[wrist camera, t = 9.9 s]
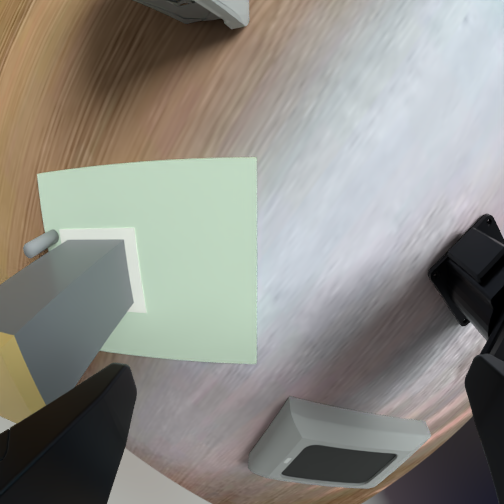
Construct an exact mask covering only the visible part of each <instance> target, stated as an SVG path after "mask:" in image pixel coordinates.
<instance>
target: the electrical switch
mask: <svg viewBox="0 0 504 504" xmlns="http://www.w3.org/2000/svg"><path fill="white" fill-rule="evenodd" d="M133 1H136V2H138V3H141V4H143V5H145V6H148V7H150V8H152V9H155V10H157V11H159V12H161V13H164V14H166V15H168V16H170V17H172V18H174V19H177V20H179V21H181V22H183V23H185V24H188V23H193V22H197V21H207V20H216V19H221V18H222V19H223V20H224V24H226V25H227V26H228V27H229V28H231V29H235V28H240V27H245V26H247V25H248V23H249V0H177V1H176V0H133ZM183 3H188V4H187V5H181V4H183ZM180 5H181V6H180Z"/></svg>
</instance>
